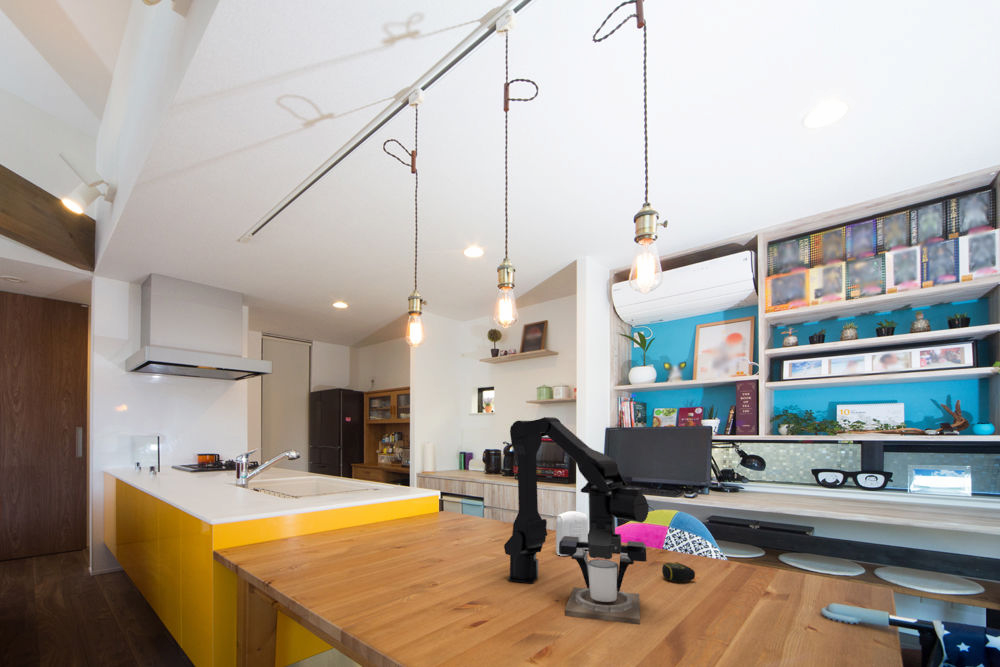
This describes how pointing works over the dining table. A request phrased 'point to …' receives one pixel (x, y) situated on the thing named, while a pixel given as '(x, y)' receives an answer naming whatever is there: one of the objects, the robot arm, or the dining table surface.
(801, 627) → the dining table surface
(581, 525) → the white rounded block
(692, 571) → the tape measure
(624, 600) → the ring holder
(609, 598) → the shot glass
